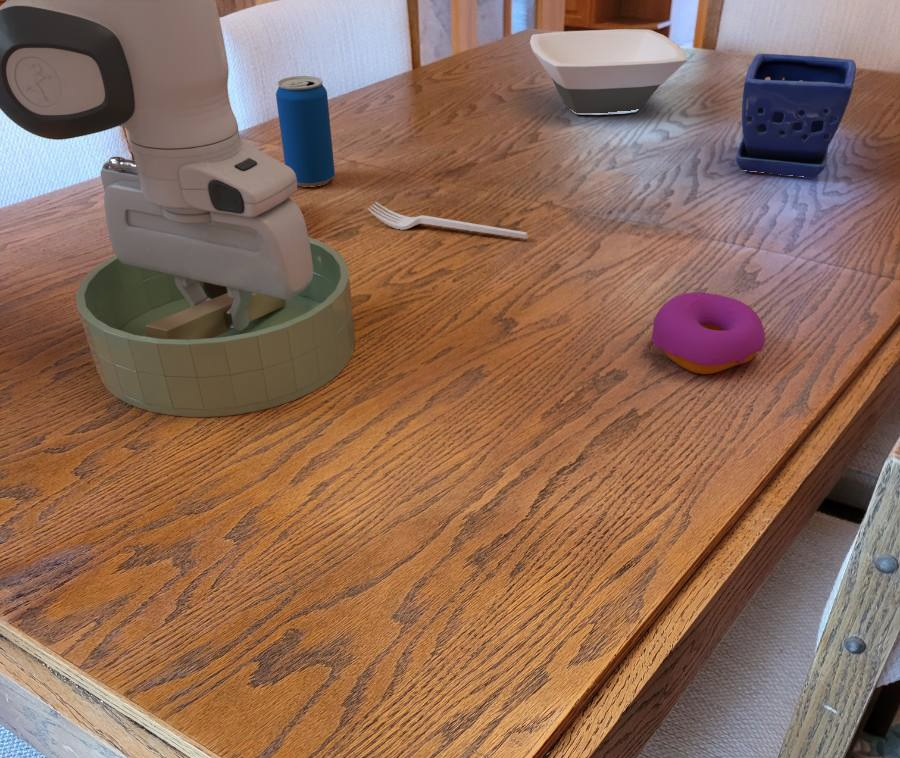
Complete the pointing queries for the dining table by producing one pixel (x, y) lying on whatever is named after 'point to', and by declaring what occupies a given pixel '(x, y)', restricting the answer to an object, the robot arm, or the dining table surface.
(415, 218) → the fork
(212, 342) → the green round basin
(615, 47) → the bowl
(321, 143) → the beverage can
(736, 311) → the donut
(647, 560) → the dining table surface
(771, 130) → the flower pot
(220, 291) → the bead
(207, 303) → the stirring stick
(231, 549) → the dining table surface
